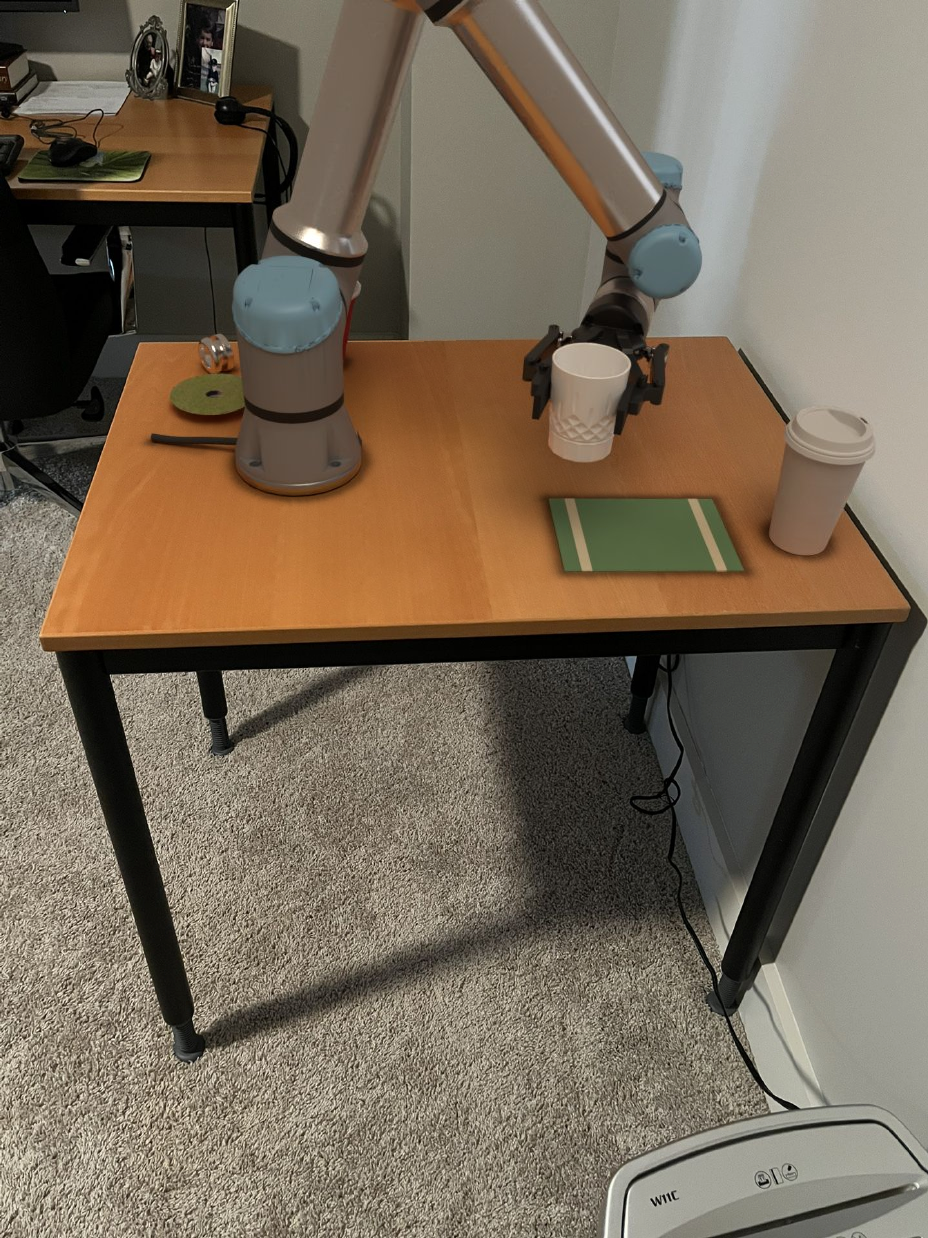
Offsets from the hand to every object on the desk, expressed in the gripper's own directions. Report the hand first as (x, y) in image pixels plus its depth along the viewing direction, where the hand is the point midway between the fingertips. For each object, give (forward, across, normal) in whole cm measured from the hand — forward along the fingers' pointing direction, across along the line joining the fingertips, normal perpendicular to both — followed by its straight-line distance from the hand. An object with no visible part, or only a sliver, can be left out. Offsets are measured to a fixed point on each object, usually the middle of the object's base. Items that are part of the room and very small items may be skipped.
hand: (577, 414), depth 98 cm
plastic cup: (-34, +42, -18) cm, 57 cm away
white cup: (-5, 0, -6) cm, 8 cm away
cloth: (-8, -8, -18) cm, 21 cm away
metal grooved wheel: (-26, +55, -18) cm, 64 cm away
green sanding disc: (-17, +51, -18) cm, 56 cm away
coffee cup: (-13, -26, -18) cm, 34 cm away
